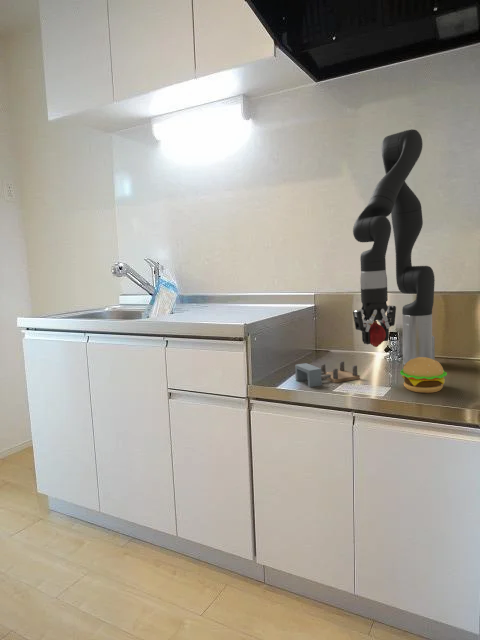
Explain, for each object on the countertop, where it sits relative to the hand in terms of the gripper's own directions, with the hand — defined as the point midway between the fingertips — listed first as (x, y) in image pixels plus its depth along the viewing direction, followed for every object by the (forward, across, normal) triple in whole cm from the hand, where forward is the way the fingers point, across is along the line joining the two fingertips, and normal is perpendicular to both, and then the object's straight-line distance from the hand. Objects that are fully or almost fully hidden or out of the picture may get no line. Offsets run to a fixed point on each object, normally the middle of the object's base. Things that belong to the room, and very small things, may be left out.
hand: (375, 342), depth 133 cm
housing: (+11, +19, -9) cm, 24 cm away
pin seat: (+12, +10, -9) cm, 18 cm away
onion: (+2, 0, 0) cm, 2 cm away
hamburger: (+12, -5, +13) cm, 19 cm away
